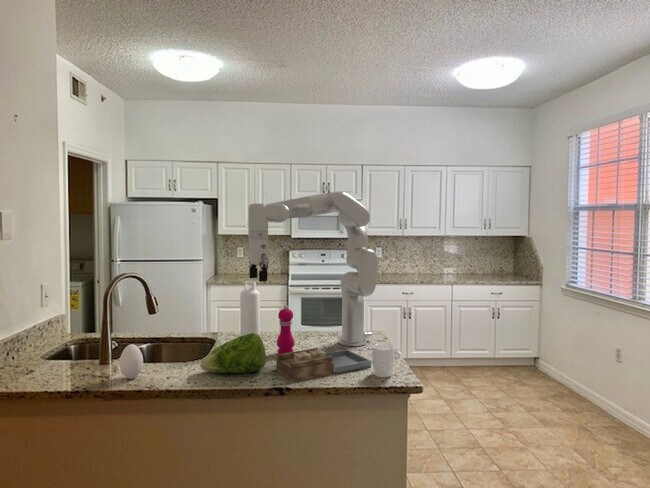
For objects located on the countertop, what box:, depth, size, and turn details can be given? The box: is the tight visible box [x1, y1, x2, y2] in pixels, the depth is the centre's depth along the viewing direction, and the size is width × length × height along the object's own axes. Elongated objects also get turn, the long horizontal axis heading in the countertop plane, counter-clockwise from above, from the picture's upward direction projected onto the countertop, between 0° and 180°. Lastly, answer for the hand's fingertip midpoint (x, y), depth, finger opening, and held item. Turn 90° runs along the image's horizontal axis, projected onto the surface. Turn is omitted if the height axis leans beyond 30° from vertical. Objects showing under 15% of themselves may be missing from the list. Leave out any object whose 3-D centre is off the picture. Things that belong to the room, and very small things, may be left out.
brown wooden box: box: [276, 347, 335, 383], centre depth 163 cm, size 16×14×6 cm
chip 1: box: [294, 352, 311, 362], centre depth 163 cm, size 4×4×2 cm
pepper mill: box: [276, 305, 295, 355], centre depth 183 cm, size 7×7×20 cm
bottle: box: [239, 280, 261, 337], centre depth 192 cm, size 8×8×28 cm
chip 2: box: [309, 348, 326, 359], centre depth 166 cm, size 4×4×2 cm
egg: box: [119, 343, 144, 380], centre depth 154 cm, size 7×7×12 cm
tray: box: [325, 349, 372, 375], centre depth 172 cm, size 15×16×2 cm
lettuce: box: [199, 333, 267, 374], centre depth 162 cm, size 14×23×13 cm, turn 98°
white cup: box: [371, 343, 395, 378], centre depth 161 cm, size 8×8×10 cm
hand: (258, 279), depth 176 cm, fingers open, 9 cm apart
